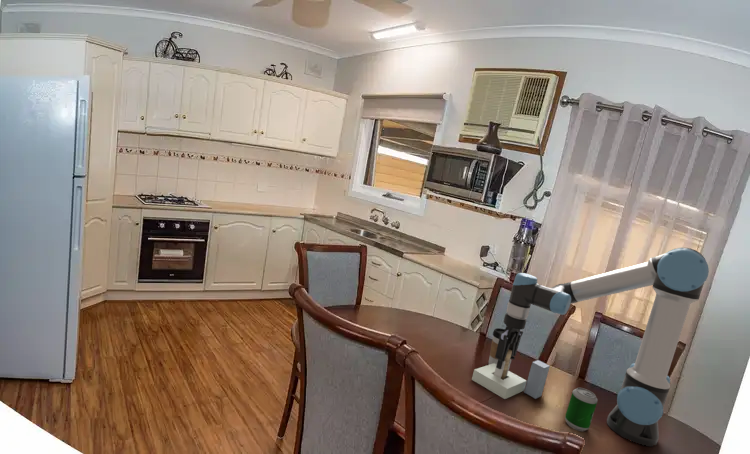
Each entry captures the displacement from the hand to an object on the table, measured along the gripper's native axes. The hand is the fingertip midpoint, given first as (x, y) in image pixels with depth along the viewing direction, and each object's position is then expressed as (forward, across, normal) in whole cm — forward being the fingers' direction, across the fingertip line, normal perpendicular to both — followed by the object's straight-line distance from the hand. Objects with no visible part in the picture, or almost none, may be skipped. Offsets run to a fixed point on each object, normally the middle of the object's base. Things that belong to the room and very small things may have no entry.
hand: (500, 374), depth 160 cm
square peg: (+4, -8, +10) cm, 13 cm away
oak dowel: (+4, 0, 0) cm, 4 cm away
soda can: (+4, -3, +28) cm, 28 cm away
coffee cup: (+4, -15, -10) cm, 19 cm away
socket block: (+4, 0, 0) cm, 4 cm away
